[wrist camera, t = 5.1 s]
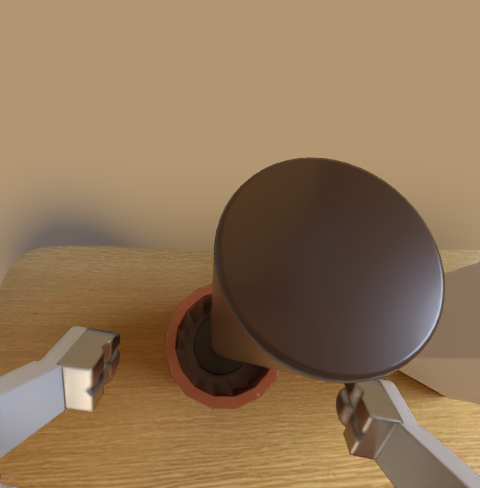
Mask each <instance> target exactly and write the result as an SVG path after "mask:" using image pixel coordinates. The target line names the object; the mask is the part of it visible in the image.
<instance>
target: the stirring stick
mask: <svg viewBox="0 0 480 488" xmlns="http://www.w3.org/2000/svg"><path fill="white" fill-rule="evenodd" d="M444 299H445V279H444V270H443V265H442V261H441V257H440V254H439V251H438V248H437V245H436V243H435V241H434V239H433V236H432V234H431V232H430V230H429V229H428V227H427V225H426V224H425V222H424V221H423V219H422V218H421V216H420V215H419V214H418V212H417V211H416V210H415V208H414V207H413V206H412V205H411V204H410V203H409V202H408V201H407V199H406V198H405V197H403V196H402V195H401V194H400V193H399V192H398V191H397V190H396V189H394V188H393V187H392V186H391V185H389V184H388V183H386V182H385V181H383V180H382V179H380V178H378V177H377V176H375V175H374V174H372V173H369V172H368V171H366V170H364V169H362V168H359V167H356V166H354V165H351V164H348V163H345V162H341V161H337V160H331V159H325V158H297V159H292V160H287V161H283V162H280V163H277V164H274V165H272V166H269V167H267V168H265V169H263V170H261V171H260V172H258V173H257V174H255V175H253V176H252V177H251V178H250V179H248V180H247V181H246V182H245V183H244V184H243V185H241V186H240V188H239V189H238V190H237V191H236V192H235V193H234V194H233V196H232V197H231V199H230V200H229V202H228V203H227V205H226V207H225V209H224V211H223V213H222V215H221V217H220V220H219V224H218V227H217V231H216V237H215V245H214V263H213V286H212V308H211V317H210V318H208V319H207V320H206V321H204V322H203V323H202V324H201V325H200V327H199V328H198V330H197V332H196V334H195V338H194V353H195V356H196V359H197V361H198V362H199V364H200V365H201V366H202V367H203V368H204V369H205V370H206V371H208V372H210V373H212V374H216V375H227V374H231V373H233V372H235V371H237V370H238V369H239V368H240V367H242V365H243V364H244V363H249V364H253V365H258V366H262V367H266V368H271V369H275V370H279V371H284V372H288V373H292V374H297V375H301V376H305V377H310V378H314V379H318V380H323V381H327V382H336V383H360V382H366V381H371V380H375V379H379V378H382V377H384V376H387V375H389V374H392V373H394V372H396V371H397V370H399V369H400V368H402V367H404V366H405V365H407V364H408V363H409V362H410V361H411V360H412V359H414V358H415V357H416V356H417V355H418V354H419V353H420V352H421V351H422V350H423V349H424V347H425V346H426V345H427V344H428V342H429V341H430V339H431V338H432V336H433V334H434V332H435V330H436V329H437V326H438V323H439V321H440V318H441V315H442V310H443V305H444Z"/></svg>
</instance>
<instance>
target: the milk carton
mask: <svg viewBox="0 0 480 488" xmlns="http://www.w3.org/2000/svg"><path fill="white" fill-rule="evenodd" d="M444 279H445V299H444V305H443V310H442V315H441V318H440V321H439V323H438V326H437V329H436V330H435V332H434V334H433V336H432V338H431V339H430V341H429V342H428V344H427V345H426V346H425V347H424V349H423V350H422V351H421V352H420V353H419V354H418V355H417V356H416V357H415V358H414V359H412V360H411V361H410V362H409V363H408V364H407V365H405V366H404V367H402V368H400V369H399V371H401V372H403V373H404V374H406V375H408V376H410V377H412V378H413V379H415V380H417V381H419V382H421V383H422V384H424V385H426V386H428V387H429V388H431V389H433V390H435V391H437V392H438V393H440V394H442V395H444V396H446V397H447V398H450V399H455V400H461V401H466V402H472V403H477V404H480V262H478V263H476V264H473V265H470V266H467V267H464V268H461V269H458V270H455V271H452V272H449V273H446V274H444Z"/></svg>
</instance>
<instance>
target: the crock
mask: <svg viewBox="0 0 480 488" xmlns="http://www.w3.org/2000/svg"><path fill="white" fill-rule="evenodd" d="M212 286H213V284H210V285H207V286H204V287H201V288H198V289H197V290H195V291H194V292H193V293H192V294H191V295H189V296H188V297H187V298H186V299H185V300H184V301H182V302H181V303H180V305H179V306H178V308H177V310H176V312H175V313H174V315H173V317H172V319H171V321H170V323H169V326H168V329H167V337H166V345H165V354H166V357H167V361H168V365H169V369H170V373H171V375H172V378H173V379H174V380H175V381H176V383H177V384H178V385H179V386H180V388H181V389H182V390H183V392H184V393H185V394H186V395H187V396H188V397H189V398H191V399H193V400H195V401H197V402H199V403H201V404H203V405H205V406H207V407H209V408H212V409H236V408H239V407H241V406H243V405H246V404H248V403H250V402H252V401H254V400H256V399H258V398H259V397H261V396H262V395H263V394H264V392H265V391H266V390H267V389H268V388H269V387H270V386H271V384H272V383H273V382H274V381H275V380H276V378H277V376H278V373H279V370H275V369H271V368H266V367H262V366H258V365H253V364H249V363H244V364H243V365H242V367H240V368H239V369H238V370H237V371H235V372H233V373H231V374H227V375H216V374H212V373H210V372H208V371H206V370H205V369H204V368H203V367H202V366H201V365H200V364H199V362H198V361H197V359H196V356H195V353H194V338H195V334H196V332H197V330H198V328H199V327H200V325H201V324H202V323H203V322H204V321H206V320H207V319H208V318H210V317H211V308H212Z"/></svg>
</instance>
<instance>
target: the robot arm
mask: <svg viewBox="0 0 480 488" xmlns="http://www.w3.org/2000/svg"><path fill="white" fill-rule="evenodd" d="M119 343H120V335H119V334H117V333H113V332H108V331H103V330H98V329H93V328H86V327H81V326H76V325H75V326H73V327H71V328H70V329H69V330H68V331H67V332H66V333H65V334H64V335H63V336H62V337H61V338H60V339H59V340H58V341H57V342H56V344H55V345H54V346H53V347H52V348H51V349H50V350H49V351H48V352H47V353H46V354H45V355H44V356H43V357H42V358H41V359H40V360H39V361H32V362H30V363H27V364H25V365H23V366H21V367H19V368H16V369H14V370H12V371H10V372H7V373H5V374H3V375H1V376H0V458H1V457H3V456H4V455H5V454H7V453H8V452H9V451H11V450H12V449H13V448H15V447H16V446H17V445H19V444H20V443H22V442H23V441H24V440H26V439H27V438H28V437H30V436H31V435H32V434H34V433H35V432H36V431H38V430H39V429H40V428H42V427H43V426H44V425H46V424H47V423H48V422H50V421H51V420H53V419H54V418H55V417H57V416H58V415H59V414H61V413H62V412H63V411H65V409H72V410H80V411H87V412H93V411H94V409H95V408H96V406H97V404H98V403H99V401H100V399H101V397H102V396H103V394H104V385H106V384H107V383H109V382H110V381H111V380H112V378H113V376H114V375H115V372H116V370H117V367H118V364H119V359H120V352H119V351H118V349H117V347H118V345H119ZM344 384H345V387H344V388H343V389H341V390H340V391H339V393H338V395H337V400H336V409H337V415H338V418H339V420H340V422H341V423H342V424H343V425H344V426H345V427H346V428H345V430H344V433H343V434H344V437H345V440H346V444H347V447H348V450H349V453H350V455H354V456H359V457H364V458H369V459H374V460H376V463H377V464H378V465H379V467H380V468H381V469H382V471H383V472H384V473H385V475H386V476H387V477H388V479H389V480H390V481H391V483H392V484H393V485H394V487H395V488H480V476H479V475H478V474H477V473H476V472H475V471H473V470H472V469H471V468H470V467H469V466H468V465H467V464H465V463H464V462H463V461H462V460H461V459H460V458H459V457H457V456H456V455H455V454H454V453H453V452H452V451H451V450H449V449H448V448H447V447H446V446H445V445H444V444H443V443H441V442H440V441H439V440H438V439H437V438H436V437H435V436H433V435H432V434H431V433H430V432H429V431H428V430H427V429H425V428H424V427H421V426H419V425H418V423H417V421H416V420H415V418H414V416H413V415H412V413H411V411H410V409H409V408H408V406H407V404H406V403H405V401H404V399H403V398H402V396H401V394H400V392H399V391H398V389H397V387H396V386H395V384H394V383H393V382H392V381H389V380H382V379H375V380H371V381H366V382H360V383H344ZM0 488H21V487H15V486H8V485H2V484H1V476H0Z"/></svg>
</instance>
